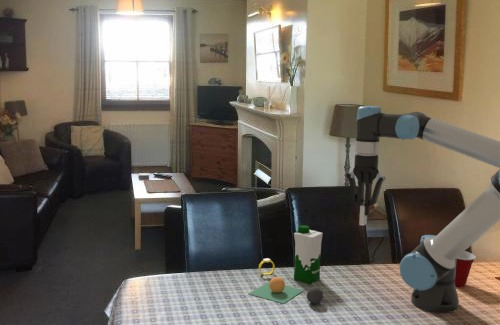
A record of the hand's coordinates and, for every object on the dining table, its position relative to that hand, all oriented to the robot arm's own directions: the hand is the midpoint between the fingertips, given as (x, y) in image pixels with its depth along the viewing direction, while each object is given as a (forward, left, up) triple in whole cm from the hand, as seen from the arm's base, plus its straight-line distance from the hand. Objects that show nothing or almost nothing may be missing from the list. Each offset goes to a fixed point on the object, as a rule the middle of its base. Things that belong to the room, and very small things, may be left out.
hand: (362, 224), depth 186 cm
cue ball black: (+11, +12, -24) cm, 29 cm away
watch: (+38, -2, -27) cm, 46 cm away
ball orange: (+26, +11, -24) cm, 37 cm away
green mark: (+26, +11, -26) cm, 39 cm away
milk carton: (+23, -6, -27) cm, 36 cm away
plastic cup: (-24, -35, -27) cm, 50 cm away
